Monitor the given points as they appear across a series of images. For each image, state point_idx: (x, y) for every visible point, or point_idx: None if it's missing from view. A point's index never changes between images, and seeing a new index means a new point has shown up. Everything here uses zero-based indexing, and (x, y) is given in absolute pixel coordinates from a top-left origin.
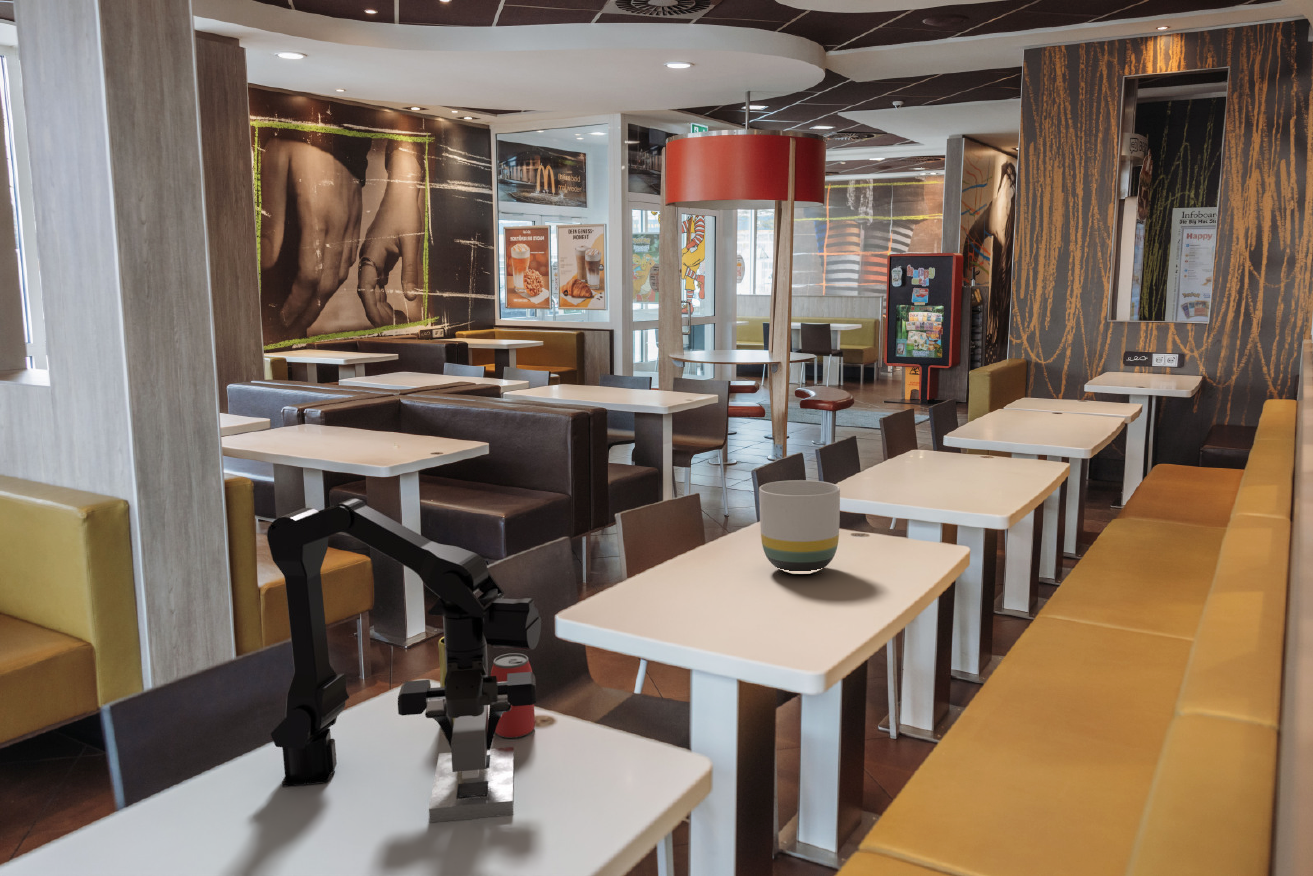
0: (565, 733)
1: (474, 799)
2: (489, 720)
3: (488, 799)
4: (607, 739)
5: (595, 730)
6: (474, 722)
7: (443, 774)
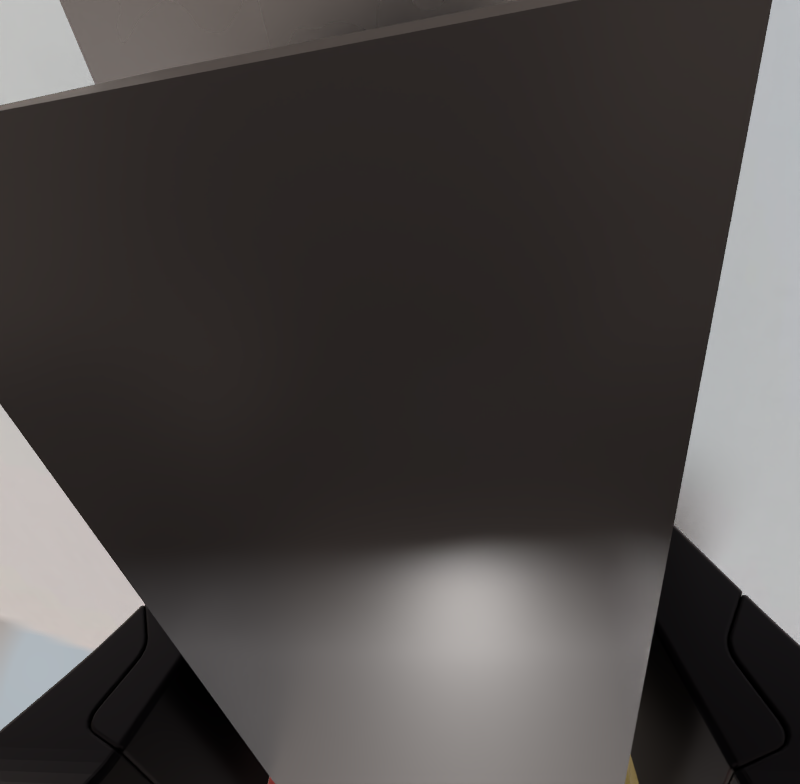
0: None
1: (365, 20)
2: (119, 734)
3: (252, 16)
4: (27, 599)
5: (97, 642)
6: (363, 724)
7: None
